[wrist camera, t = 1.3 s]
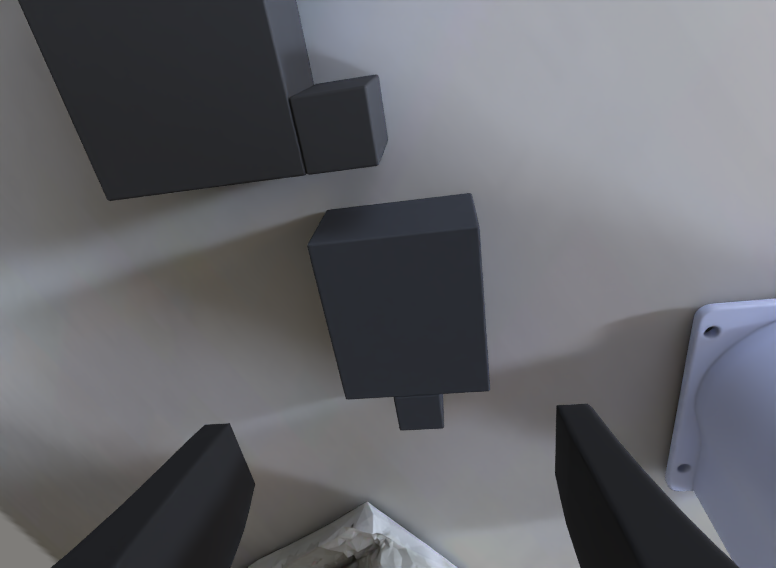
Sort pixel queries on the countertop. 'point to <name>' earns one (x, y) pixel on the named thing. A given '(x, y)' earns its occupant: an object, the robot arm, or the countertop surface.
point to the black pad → (201, 93)
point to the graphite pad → (405, 302)
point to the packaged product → (357, 546)
